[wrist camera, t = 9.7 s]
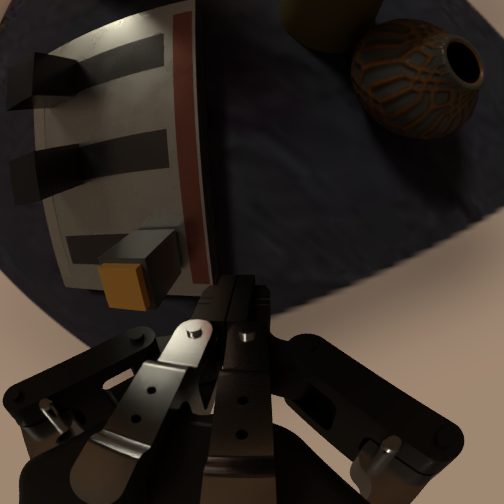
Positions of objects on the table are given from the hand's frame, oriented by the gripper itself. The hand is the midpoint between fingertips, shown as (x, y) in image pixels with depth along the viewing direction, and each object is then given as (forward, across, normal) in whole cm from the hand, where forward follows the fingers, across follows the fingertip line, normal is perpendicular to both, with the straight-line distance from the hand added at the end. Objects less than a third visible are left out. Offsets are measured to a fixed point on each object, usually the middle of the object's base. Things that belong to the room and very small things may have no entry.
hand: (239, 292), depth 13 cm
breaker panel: (+7, +10, -7) cm, 14 cm away
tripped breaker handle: (+5, +6, 0) cm, 8 cm away
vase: (+7, -10, -11) cm, 16 cm away
